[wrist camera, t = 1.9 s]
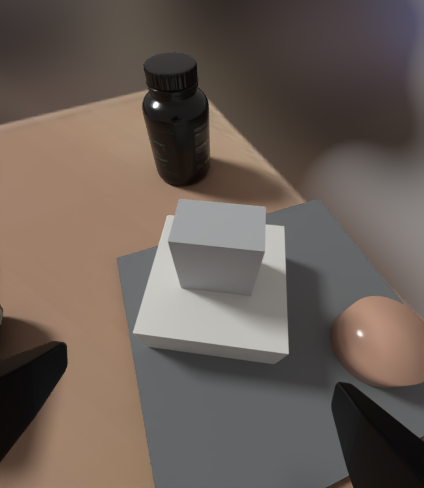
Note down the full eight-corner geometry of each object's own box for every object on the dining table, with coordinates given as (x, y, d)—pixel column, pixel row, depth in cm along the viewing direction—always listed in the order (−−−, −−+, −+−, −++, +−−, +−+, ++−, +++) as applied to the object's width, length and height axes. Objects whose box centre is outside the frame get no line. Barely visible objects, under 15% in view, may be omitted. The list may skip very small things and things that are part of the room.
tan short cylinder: (428, 370, 19) (459, 364, 17) (362, 401, 18) (384, 400, 15) (375, 298, 22) (394, 285, 20) (316, 321, 21) (328, 311, 19)
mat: (476, 403, 18) (484, 403, 18) (170, 565, 14) (169, 570, 14) (317, 202, 29) (319, 198, 29) (118, 261, 25) (116, 258, 25)
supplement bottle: (199, 147, 35) (192, 42, 25) (218, 178, 31) (219, 71, 21) (151, 159, 34) (124, 54, 24) (166, 193, 30) (141, 87, 20)
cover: (274, 364, 19) (324, 329, 10) (148, 346, 20) (95, 300, 11) (273, 253, 25) (306, 168, 16) (174, 243, 25) (153, 157, 17)
